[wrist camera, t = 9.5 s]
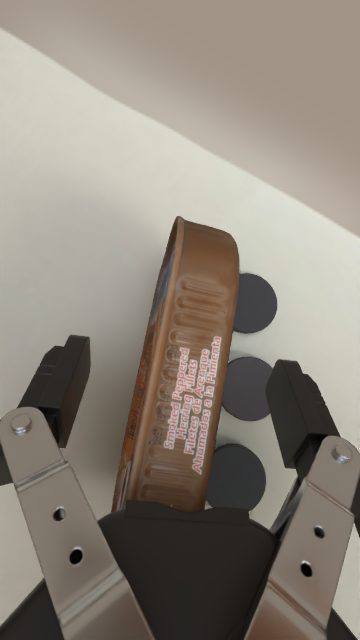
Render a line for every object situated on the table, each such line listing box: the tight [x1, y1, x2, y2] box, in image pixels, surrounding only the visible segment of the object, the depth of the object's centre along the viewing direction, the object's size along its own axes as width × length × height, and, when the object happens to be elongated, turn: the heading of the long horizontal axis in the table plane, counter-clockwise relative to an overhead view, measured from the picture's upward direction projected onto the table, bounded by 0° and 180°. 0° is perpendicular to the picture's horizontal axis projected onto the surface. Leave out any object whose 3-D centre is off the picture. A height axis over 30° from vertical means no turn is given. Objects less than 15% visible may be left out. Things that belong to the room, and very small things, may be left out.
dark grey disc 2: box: [222, 357, 273, 421], centre depth 18 cm, size 4×4×1 cm
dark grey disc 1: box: [233, 273, 277, 333], centre depth 19 cm, size 4×4×1 cm
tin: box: [111, 216, 239, 513], centre depth 14 cm, size 15×3×8 cm, turn 169°
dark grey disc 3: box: [206, 444, 266, 512], centre depth 17 cm, size 4×4×1 cm
